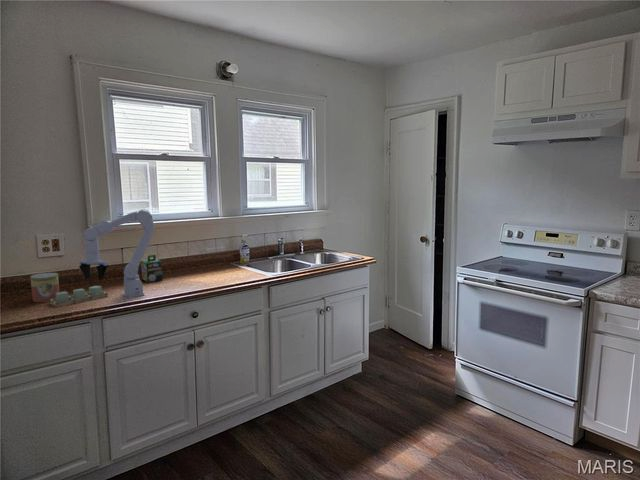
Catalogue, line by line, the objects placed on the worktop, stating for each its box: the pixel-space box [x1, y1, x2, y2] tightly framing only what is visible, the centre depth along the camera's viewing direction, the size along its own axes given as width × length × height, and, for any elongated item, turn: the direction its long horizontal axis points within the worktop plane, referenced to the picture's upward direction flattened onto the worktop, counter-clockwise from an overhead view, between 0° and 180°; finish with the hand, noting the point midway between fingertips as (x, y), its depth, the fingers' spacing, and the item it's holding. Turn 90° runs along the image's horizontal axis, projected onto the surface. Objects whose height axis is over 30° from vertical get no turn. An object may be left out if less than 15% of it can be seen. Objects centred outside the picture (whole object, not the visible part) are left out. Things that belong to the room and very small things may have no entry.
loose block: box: [88, 285, 103, 296], centre depth 205 cm, size 4×4×5 cm
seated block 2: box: [72, 288, 86, 299], centre depth 199 cm, size 4×4×5 cm
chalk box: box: [140, 254, 164, 283], centre depth 241 cm, size 9×9×15 cm
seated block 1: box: [56, 290, 70, 302], centre depth 194 cm, size 4×4×5 cm
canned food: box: [30, 272, 60, 303], centre depth 200 cm, size 11×11×12 cm
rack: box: [49, 290, 109, 308], centre depth 200 cm, size 8×23×2 cm, turn 139°
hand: (94, 279), depth 204 cm, fingers open, 7 cm apart
